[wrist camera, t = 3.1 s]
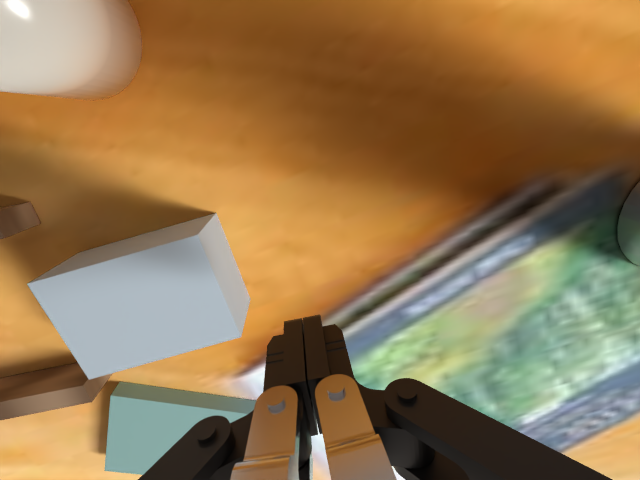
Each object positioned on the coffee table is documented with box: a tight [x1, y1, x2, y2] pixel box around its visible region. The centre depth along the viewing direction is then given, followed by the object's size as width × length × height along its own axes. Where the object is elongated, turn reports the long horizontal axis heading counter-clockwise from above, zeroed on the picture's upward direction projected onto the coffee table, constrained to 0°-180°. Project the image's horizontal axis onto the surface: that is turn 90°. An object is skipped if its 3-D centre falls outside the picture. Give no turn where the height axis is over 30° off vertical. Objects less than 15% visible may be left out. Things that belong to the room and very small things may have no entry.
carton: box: [27, 213, 250, 380], centre depth 22 cm, size 10×7×5 cm
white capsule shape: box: [0, 0, 142, 101], centre depth 15 cm, size 7×7×9 cm
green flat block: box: [105, 382, 256, 475], centre depth 29 cm, size 12×8×2 cm, turn 76°
